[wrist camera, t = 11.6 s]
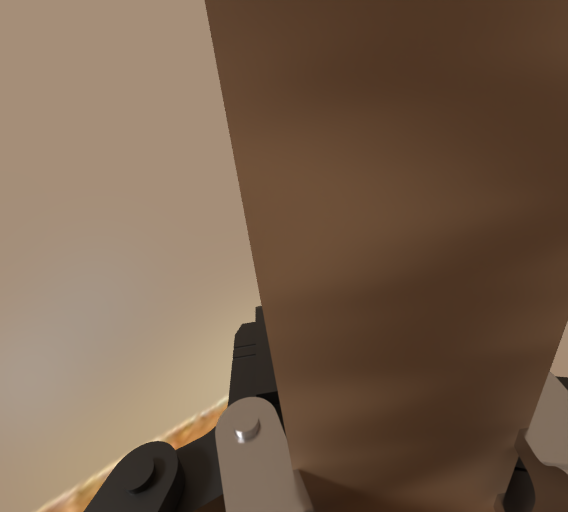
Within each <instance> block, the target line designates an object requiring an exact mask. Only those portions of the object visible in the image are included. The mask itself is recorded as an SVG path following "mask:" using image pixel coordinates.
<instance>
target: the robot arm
mask: <svg viewBox="0 0 568 512" xmlns="http://www.w3.org/2000/svg"><path fill="white" fill-rule="evenodd" d="M514 447H515V449H516V451H517V453H518V455H519V457H518V460H517V462H516V465H515V468H514V471H513V473H512V476H511V479H510V482H509V484H508V487H507V490H506V493H501V494H497V497H496V500H495V502H494V505H493V507H494V510H495V512H568V378H567V377H556V376H554V375H553V374H552V373H551V372H550V371H549V374H548V376H547V379H546V382H545V385H544V387H543V390H542V393H541V396H540V399H539V401H538V404H537V407H536V410H535V412H534V415H533V418H532V421H531V423H530V426H529V428H523V429H519V432H518V435H517V438H516V441H515V444H514ZM84 512H318V511H317V510H316V509H314V507H313V505H312V503H311V501H310V498H309V496H308V493H307V491H306V488H305V485H304V483H303V480H302V477H301V475H300V472H299V470H298V469H295V470H292V465H291V459H290V454H289V449H288V443H287V438H286V432H285V427H284V422H283V416H282V411H281V406H280V400H279V395H278V390H277V384H276V379H275V374H274V368H273V363H272V358H271V352H270V347H269V342H268V336H267V331H266V325H265V320H264V315H263V309H262V306H258V307H256V322H251V323H245V324H242V325H241V327H240V328H239V330H238V331H237V333H236V334H235V340H234V350H233V361H232V371H231V381H230V391H229V401H228V407H227V408H226V410H225V411H224V412H223V413H222V415H221V416H220V418H219V420H218V422H217V425H216V426H215V427H214V428H213V429H212V430H211V431H210V432H209V433H207V434H206V435H204V436H202V437H201V438H199V439H197V440H195V441H193V442H191V443H189V444H187V445H185V446H183V447H181V448H179V449H177V450H175V449H174V448H173V447H172V446H171V445H170V444H168V443H166V442H162V441H154V442H149V443H146V444H144V445H141V446H139V447H137V448H136V449H134V450H133V451H131V452H130V453H128V454H127V455H126V456H125V457H124V458H123V459H122V460H121V461H120V462H119V463H118V464H117V465H116V467H115V468H114V469H113V470H112V472H111V473H110V475H109V476H108V478H107V479H106V480H105V482H104V483H103V485H102V486H101V488H100V489H99V490H98V492H97V493H96V495H95V496H94V498H93V499H92V500H91V502H90V503H89V505H88V506H87V508H86V509H85V510H84Z"/></svg>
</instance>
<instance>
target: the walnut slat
mask: <svg viewBox="0 0 568 512" xmlns="http://www.w3.org/2000/svg"><path fill="white" fill-rule="evenodd" d="M205 4H206V10H207V15H208V21H209V25H210V31H211V37H212V42H213V46H214V53H215V58H216V63H217V69H218V74H219V79H220V84H221V90H222V95H223V101H224V106H225V111H226V117H227V122H228V128H229V133H230V137H231V144H232V149H233V154H234V160H235V165H236V170H237V176H238V181H239V186H240V192H241V197H242V202H243V208H244V213H245V218H246V223H247V229H248V235H249V240H250V245H251V251H252V256H253V261H254V266H255V272H256V277H257V282H258V288H259V293H260V299H261V304H262V309H263V315H264V320H265V325H266V331H267V336H268V342H269V347H270V352H271V358H272V363H273V368H274V374H275V379H276V384H277V390H278V395H279V400H280V406H281V411H282V416H283V422H284V427H285V432H286V438H287V443H288V449H289V454H290V459H291V465H292V470H295V469H298V470H299V472H300V475H301V477H302V480H303V483H304V485H305V488H306V491H307V493H308V496H309V498H310V501H311V503H312V505H313V507H314V509H316V510H317V511H318V512H495V510H494V507H493V505H494V502H495V500H496V497H497V494H501V493H506V490H507V487H508V484H509V482H510V479H511V476H512V473H513V471H514V468H515V465H516V462H517V460H518V457H519V455H518V453H517V451H516V449H515V447H514V444H515V441H516V438H517V435H518V432H519V429H523V428H529V426H530V423H531V421H532V418H533V415H534V412H535V410H536V407H537V404H538V401H539V399H540V396H541V393H542V390H543V387H544V385H545V382H546V379H547V376H548V374H549V371H550V368H551V365H552V363H553V360H554V357H555V354H556V351H557V349H558V346H559V343H560V340H561V338H562V335H563V332H564V329H565V326H566V323H567V321H568V0H205Z"/></svg>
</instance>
